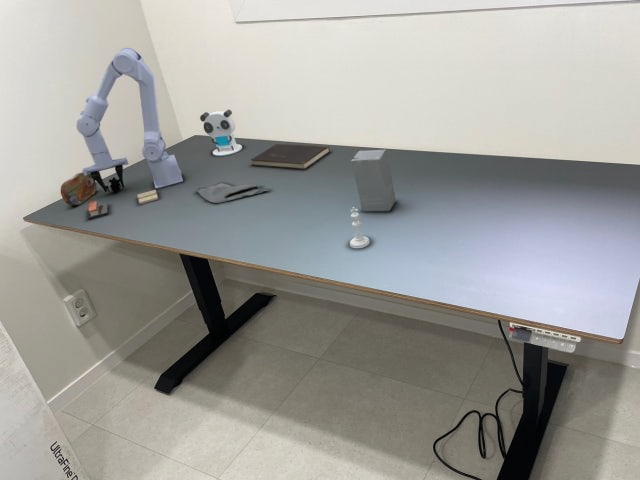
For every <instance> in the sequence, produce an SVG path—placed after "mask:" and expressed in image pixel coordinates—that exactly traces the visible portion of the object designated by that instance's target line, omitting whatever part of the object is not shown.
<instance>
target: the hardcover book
mask: <svg viewBox="0 0 640 480" xmlns="http://www.w3.org/2000/svg"><path fill="white" fill-rule="evenodd" d="M330 151H331V150H330V147H329V146H325V145H307V144H289V143H288V144H287V143H275V144H274V145H272V146H270V147H269V148H267V149H265V150H264V151H262V152H260V153H259V154H257V155H256V156H254V157H253V158H251V159H250V161H251V162H252V165H251V166H252V167H253V166H254V167H265V168H266V167H267V168H278V169H290V170H291V169H292V170H303V171H306V170H307V169H308V168H309V167H311V166H312V165H314V164H315V163H317V162H319V161H320V160H321V159H323V158H324V157H325V156H327V155H328V154H330Z"/></svg>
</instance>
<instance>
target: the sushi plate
mask: <svg viewBox="0 0 640 480" xmlns="http://www.w3.org/2000/svg"><path fill="white" fill-rule="evenodd" d="M108 215H109V205H108V203H105V204H102V205H99V204H98V201H97V200H94V201H90V202H88V208H87V219H88V221H90V220H94V219H98V218H101V217H105V216H108Z"/></svg>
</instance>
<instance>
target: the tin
mask: <svg viewBox="0 0 640 480" xmlns="http://www.w3.org/2000/svg"><path fill="white" fill-rule="evenodd" d="M96 191H97V181H95V180H94V179H93V178H92V177H91V174H88V175H85V176H84V174H83V171H82V172H78V173H75V174H74V175H73V176H72V177H70V178H68V179H67V180H66V181H64V182H63V183H62V184H61V186H60V195H61V197H62V199H63V202H64V203H65V204H67V205H69V206H80V205H82V204H83V203H84V202H86V201H87V200H88V199H90V198H91V197H92V196H94V195H95V193H96Z"/></svg>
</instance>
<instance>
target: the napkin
mask: <svg viewBox="0 0 640 480" xmlns="http://www.w3.org/2000/svg"><path fill="white" fill-rule="evenodd" d="M137 199H138V203H139V205H143V204H147V203H150V202H154V201H157V200H159V196H158V192H157V189H153V190H149V191H145V192H141V193H138V194H137Z"/></svg>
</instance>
